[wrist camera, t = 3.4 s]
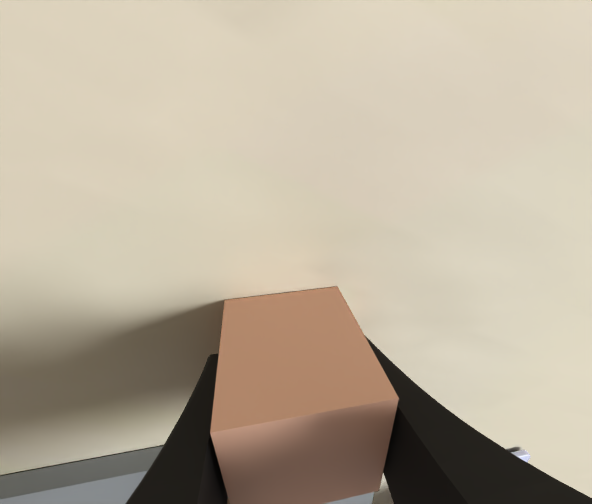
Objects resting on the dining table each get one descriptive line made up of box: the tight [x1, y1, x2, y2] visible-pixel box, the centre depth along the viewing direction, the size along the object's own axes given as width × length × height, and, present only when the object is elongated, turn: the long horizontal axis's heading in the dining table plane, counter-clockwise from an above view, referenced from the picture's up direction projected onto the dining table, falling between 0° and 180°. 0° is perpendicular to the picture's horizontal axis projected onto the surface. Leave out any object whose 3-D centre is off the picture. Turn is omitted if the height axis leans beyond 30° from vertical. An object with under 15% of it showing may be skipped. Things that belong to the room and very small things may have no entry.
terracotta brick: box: [210, 287, 399, 504], centre depth 10 cm, size 4×4×5 cm
